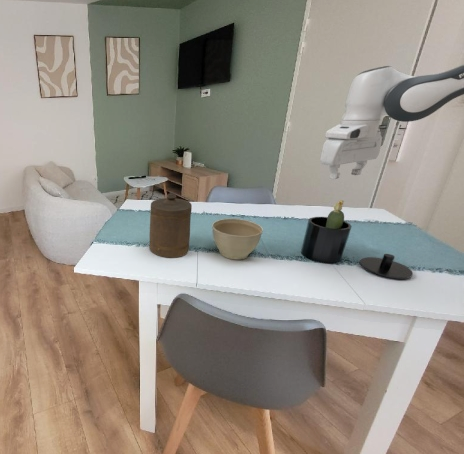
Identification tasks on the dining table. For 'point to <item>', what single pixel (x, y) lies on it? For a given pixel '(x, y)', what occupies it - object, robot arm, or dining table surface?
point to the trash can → (324, 241)
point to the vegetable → (335, 217)
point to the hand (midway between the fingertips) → (344, 176)
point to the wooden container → (170, 226)
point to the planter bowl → (236, 237)
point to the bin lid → (386, 267)
